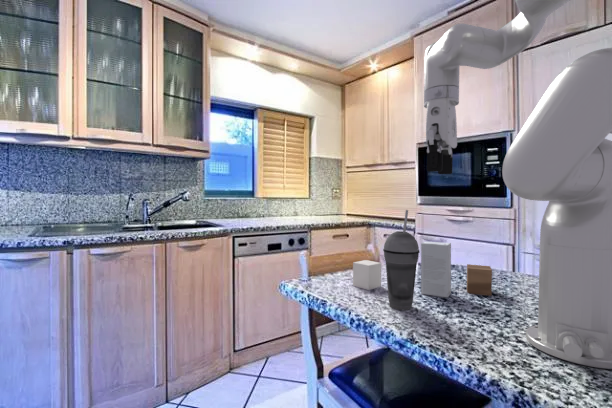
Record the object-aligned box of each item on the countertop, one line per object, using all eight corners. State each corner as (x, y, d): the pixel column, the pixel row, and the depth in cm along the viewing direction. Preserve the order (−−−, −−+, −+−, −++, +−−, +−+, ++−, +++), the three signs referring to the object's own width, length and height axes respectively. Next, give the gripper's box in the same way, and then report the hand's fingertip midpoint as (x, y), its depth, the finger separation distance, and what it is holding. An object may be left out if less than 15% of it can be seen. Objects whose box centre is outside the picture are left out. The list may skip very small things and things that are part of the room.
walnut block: (491, 296, 75) (492, 270, 75) (467, 293, 78) (467, 268, 77) (489, 290, 80) (489, 266, 80) (466, 288, 82) (467, 264, 82)
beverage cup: (394, 298, 73) (395, 208, 72) (425, 306, 68) (426, 209, 67) (375, 306, 68) (376, 209, 67) (408, 315, 63) (409, 210, 62)
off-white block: (368, 290, 80) (368, 265, 80) (352, 285, 84) (353, 262, 83) (381, 286, 83) (381, 262, 83) (365, 282, 87) (365, 260, 87)
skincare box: (451, 293, 77) (452, 242, 77) (448, 298, 73) (448, 245, 73) (424, 289, 80) (425, 240, 80) (420, 294, 77) (420, 243, 76)
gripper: (449, 85, 67) (448, 169, 67) (465, 104, 81) (464, 174, 81) (413, 91, 71) (411, 170, 71) (434, 109, 85) (433, 175, 86)
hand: (440, 172), depth 76 cm, fingers open, 9 cm apart
